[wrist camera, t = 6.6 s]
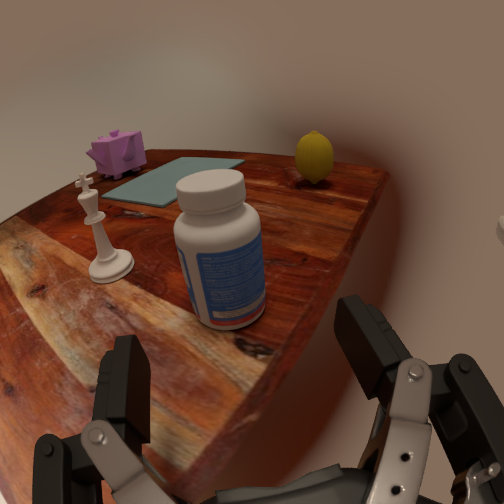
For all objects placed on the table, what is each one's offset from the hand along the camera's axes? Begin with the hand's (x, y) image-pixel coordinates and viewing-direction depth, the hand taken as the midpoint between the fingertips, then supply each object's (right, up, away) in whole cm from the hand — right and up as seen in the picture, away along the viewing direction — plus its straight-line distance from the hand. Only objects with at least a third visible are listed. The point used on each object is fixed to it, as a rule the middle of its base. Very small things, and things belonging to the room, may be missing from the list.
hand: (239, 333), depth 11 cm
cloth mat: (-13, +16, +39) cm, 44 cm away
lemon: (+10, +13, +31) cm, 35 cm away
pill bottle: (-1, -1, +11) cm, 11 cm away
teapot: (-28, +20, +47) cm, 58 cm away
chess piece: (-13, +1, +16) cm, 21 cm away
